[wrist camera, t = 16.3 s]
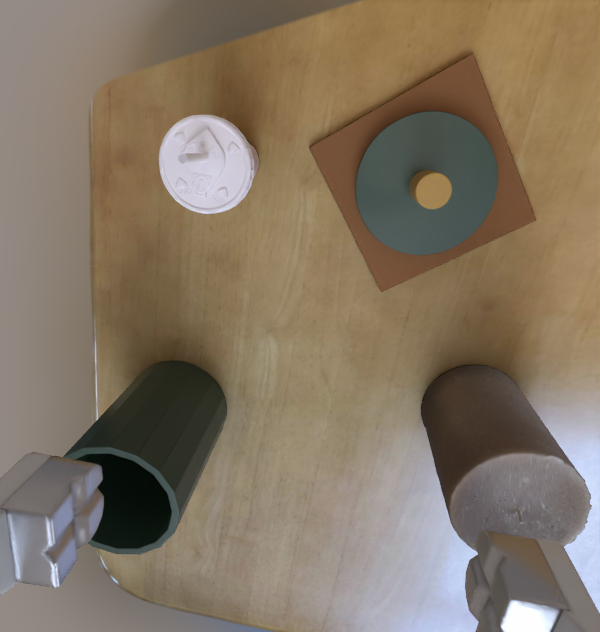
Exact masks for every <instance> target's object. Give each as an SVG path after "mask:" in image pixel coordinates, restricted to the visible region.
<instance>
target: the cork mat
mask: <svg viewBox="0 0 600 632" xmlns="http://www.w3.org/2000/svg"><path fill="white" fill-rule="evenodd" d="M424 111H441V112H447V113H451V114H454V115H457V116H459V117H462V118H464V119H465V120H467V121H469V122H470V123H472V124H473V125H474V126H475V127H477V128H478V129H479V130H480V131H481V133H482V134H483V135H484V136H485V137H486V139H487V140H488V142H489V143H490V146H491V148H492V150H493V152H494V155H495V158H496V162H497V169H498V185H497V192H496V196H495V200H494V202H493V205H492V208H491V210H490V212H489V213H488V215H487V217H486V219H485V220H484V221H483V223H482V224H481V226H480V227H479V228H478V229H477V230H476V231H475V232H474V233H473V234H472V235H471V236H470V237H469V238H468V239H466V240H465V241H463V242H462V243H460V244H459V245H457V246H455V247H453V248H451V249H448V250H446V251H443V252H440V253H436V254H430V255H412V254H406V253H402V252H399V251H396V250H394V249H391V248H390V247H388V246H386V245H384V244H383V243H382V242H380V241H379V240H378V239H377V238H376V237H375V236H374V235H373V234H372V233H371V232H370V231H369V229H368V228H367V227H366V225H365V223H364V222H363V220H362V218H361V215H360V213H359V210H358V206H357V201H356V193H355V184H356V176H357V172H358V168H359V164H360V162H361V159H362V157H363V155H364V153H365V151H366V150H367V148H368V146H369V145H370V144H371V142H372V141H373V140H374V138H375V137H376V136H377V135H378V134H379V133H380V132H381V131H382V130H384V129H385V128H386V127H387V126H389V125H390V124H392V123H393V122H395V121H397V120H399V119H401V118H403V117H405V116H408V115H411V114H414V113H419V112H424ZM309 148H310V150H311V152H312V154H313V156H314V158H315V160H316V162H317V164H318V166H319V168H320V170H321V172H322V174H323V176H324V178H325V180H326V182H327V184H328V186H329V188H330V190H331V192H332V194H333V196H334V198H335V200H336V202H337V204H338V206H339V208H340V210H341V212H342V214H343V216H344V218H345V220H346V222H347V224H348V226H349V228H350V230H351V232H352V234H353V237H354V239H355V241H356V243H357V245H358V247H359V249H360V251H361V253H362V255H363V257H364V259H365V261H366V263H367V265H368V267H369V269H370V271H371V273H372V275H373V277H374V279H375V281H376V283H377V285H378V287H379V289H380V291H381V292H383V291H385V290H387V289H389V288H391V287H393V286H395V285H398V284H400V283H402V282H404V281H406V280H408V279H410V278H413V277H415V276H417V275H419V274H421V273H423V272H426V271H428V270H430V269H432V268H434V267H436V266H438V265H441V264H443V263H445V262H447V261H449V260H451V259H454V258H456V257H458V256H460V255H462V254H464V253H466V252H469V251H471V250H473V249H475V248H477V247H479V246H482V245H484V244H486V243H488V242H490V241H492V240H494V239H497V238H499V237H501V236H503V235H505V234H507V233H509V232H512V231H514V230H516V229H518V228H520V227H522V226H525V225H527V224H529V223H531V222H533V221H535V220H536V218H535V216H534V213H533V210H532V208H531V205H530V203H529V200H528V197H527V195H526V192H525V189H524V187H523V184H522V181H521V179H520V176H519V174H518V171H517V168H516V166H515V163H514V160H513V158H512V155H511V152H510V150H509V147H508V145H507V142H506V139H505V137H504V134H503V131H502V129H501V126H500V123H499V121H498V118H497V116H496V113H495V110H494V108H493V105H492V102H491V100H490V97H489V95H488V92H487V89H486V87H485V84H484V81H483V79H482V76H481V73H480V71H479V68H478V66H477V63H476V60H475V58H474V55H473V54H471V55H469V56H467V57H465V58H464V59H462V60H460V61H458V62H457V63H455V64H453V65H452V66H450V67H448V68H446V69H445V70H443V71H441V72H439V73H438V74H436V75H434V76H432V77H431V78H429V79H427V80H425V81H424V82H422V83H420V84H419V85H417V86H415V87H413V88H412V89H410V90H408V91H406V92H405V93H403V94H401V95H399V96H398V97H396V98H394V99H392V100H391V101H389V102H387V103H386V104H384V105H382V106H380V107H379V108H377V109H375V110H373V111H372V112H370V113H368V114H366V115H365V116H363V117H361V118H359V119H358V120H356V121H354V122H352V123H351V124H349V125H347V126H346V127H344V128H342V129H340V130H339V131H337V132H335V133H333V134H332V135H330V136H328V137H326V138H325V139H323V140H321V141H319V142H318V143H316V144H314V145H313V146H311V147H309Z"/></svg>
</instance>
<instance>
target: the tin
mask: <svg viewBox="0 0 600 632" xmlns="http://www.w3.org/2000/svg"><path fill="white" fill-rule="evenodd" d="M226 414H227V406H226V400H225V397H224V394H223V392H222V390H221V388H220V386H219V385H218V383H217V382H216V381H215V380H214V379H213V378H212V377H211V376H210V375H209V374H208V373H207V372H205V371H204V370H202V369H201V368H199V367H197V366H195V365H192V364H189V363H185V362H180V361H165V362H161V363H157V364H155V365H152V366H151V367H149V368H147V369H146V370H144V371H143V372H142V373H141V374H140V375H139V376H138V377H137V378H136V379H135V380H134V381H133V383H132V384H131V385H130V386H129V387H128V388H127V389H126V390H125V391H124V392H123V393H122V394H121V395H120V396H119V398H118V399H117V400H116V401H115V402H114V403H113V404H112V405H111V406H110V407H109V408H108V409H107V410H106V411H105V413H104V414H103V415H102V416H101V417H100V418H99V419H98V420H97V421H96V422H95V423H94V424H93V425H92V426H91V428H90V429H89V430H88V431H87V432H86V433H85V434H84V435H83V436H82V437H81V439H79V440H78V442H77V443H76V444H75V445H74V446H73V447H72V448H71V449H70V450H69V451H68V452H67V453H66V454H65V455H64V456H63V457H64V458H69V459H74V460H79V461H84V462H89V463H94V464H98V465H99V466H101V467H102V475H103V480H102V481H101V483H100V484H99V485H98V487H97V488H98V489H99V491H100V492H101V493H102V495H103V496H104V508H103V514H102V518H101V520H100V523H99V525H98V528H97V530H96V532H95V534H94V535H93V537H92V538H91V540H90V541H89V542H88V544H90V545H91V546H93V547H96V548H99V549H102V550H106V551H109V552H112V553H115V554H142V553H145V552H148V551H151V550H153V549H156V548H159V547H161V546H162V545H163V544H164V543H165V542H166V541H167V540H168V539H169V538H170V537H171V536H172V535H173V534H174V533H175V531H176V528H177V526H178V524H179V522H180V520H181V518H182V515H183V513H184V511H185V509H186V507H187V505H188V502H189V500H190V498H191V496H192V494H193V491H194V489H195V487H196V485H197V483H198V481H199V478H200V476H201V474H202V472H203V470H204V468H205V465H206V463H207V461H208V459H209V457H210V455H211V452H212V450H213V448H214V446H215V444H216V441H217V439H218V437H219V435H220V433H221V431H222V428H223V424H224V422H225V419H226Z"/></svg>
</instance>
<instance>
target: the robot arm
mask: <svg viewBox="0 0 600 632" xmlns="http://www.w3.org/2000/svg"><path fill="white" fill-rule="evenodd" d="M102 480H103V475H102V467H101V466H99V465H98V464H94V463H89V462H84V461H79V460H74V459H69V458H64V457H59V456H51V455H45V454H41V453H36V452H32V453H29V454H26V455H25V456H24V457H23V458H22V459H21V460H20V461H18V462H17V463H16V464H15V465H14V466H13V467H12V468H11V469H10V470H9V471H8V472H7V473H6V474H4V475H3V477H1V478H0V595H1V594H2V593H4V592H6V591H7V590H9V589H10V588H11V587H13V586H14V585H16V582H21V583H27V584H33V585H40V586H46V587H53V588H58V587H59V586H60V585H61V583H62V582H63V580H64V579H65V577H66V575H67V574H68V573H69V571H70V570H71V568H72V567H73V565H74V564H75V562H76V561H77V549H78V548H79V547H81V546H83V545H85V544H86V543H88V542H89V541H90V540H91V538H92V537H93V535H94V534H95V532H96V530H97V528H98V525H99V523H100V520H101V518H102V514H103V508H104V496H103V495H102V493H101V492H100V491H99V489H98V488H97V487H98V485H99V484H100V483H101V481H102ZM475 545H476V549H477V552H478V555H477V556H475V557H474V558H472V559H471V560H470V561H469V564H468V568H467V571H466V582H465V589H466V598H467V603H468V607H469V611H470V612H471V613H472V614H473V616H474V617H475V618H476V619H477V620H478V621H479V623H478V626H477V629H476V632H600V613H599V612H598V610H597V608H596V606H595V604H594V602H593V601H592V599H591V597H590V595H589V593H588V591H587V589H586V588H585V586H584V584H583V582H582V580H581V578H580V576H579V575H578V573H577V571H576V569H575V567H574V565H573V564H572V562H571V560H570V558H569V556H568V554H567V552H566V551H565V549H564V547H563V546H562V545H561V544H560V543H559V542H558V541H551V540H545V539H538V538H529V537H524V536H517V535H511V534H505V533H499V532H493V531H487V530H482V531H481V532H480V533H479V534H478V537H477V540H476V543H475Z"/></svg>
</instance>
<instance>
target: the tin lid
mask: <svg viewBox="0 0 600 632" xmlns="http://www.w3.org/2000/svg"><path fill="white" fill-rule="evenodd" d="M497 185H498V169H497V162H496V158H495V155H494V152H493V150H492V148H491V146H490V143H489V142H488V140H487V139H486V137H485V136H484V135H483V134H482V133H481V131H480V130H479V129H478V128H477V127H475V126H474V125H473V124H472V123H470V122H469V121H467V120H465V119H464V118H462V117H459V116H457V115H454V114H451V113H447V112H441V111H424V112H419V113H414V114H411V115H408V116H405V117H403V118H401V119H399V120H397V121H395V122H393V123H392V124H390V125H389V126H387V127H386V128H385V129H384V130H382V131H381V132H380V133H379V134H378V135H377V136H376V137H375V138H374V140H373V141H372V142H371V144H370V145H369V146H368V148H367V150H366V151H365V153H364V155H363V157H362V159H361V162H360V164H359V168H358V172H357V176H356V184H355V193H356V201H357V206H358V210H359V213H360V215H361V218H362V220H363V222H364V223H365V225H366V227H367V228H368V229H369V231H370V232H371V233H372V234H373V235H374V236H375V237H376V238H377V239H378V240H379V241H380V242H382V243H383V244H384V245H386V246H388V247H390V248H391V249H394V250H396V251H399V252H402V253H406V254H412V255H430V254H436V253H440V252H443V251H446V250H448V249H451V248H453V247H455V246H457V245H459V244H460V243H462V242H463V241H465V240H466V239H468V238H469V237H470V236H471V235H472V234H473V233H474V232H475V231H476V230H477V229H478V228H479V227H480V226H481V224H482V223H483V221H484V220H485V219H486V217H487V215H488V213H489V212H490V210H491V208H492V205H493V202H494V200H495V196H496V192H497Z"/></svg>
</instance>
